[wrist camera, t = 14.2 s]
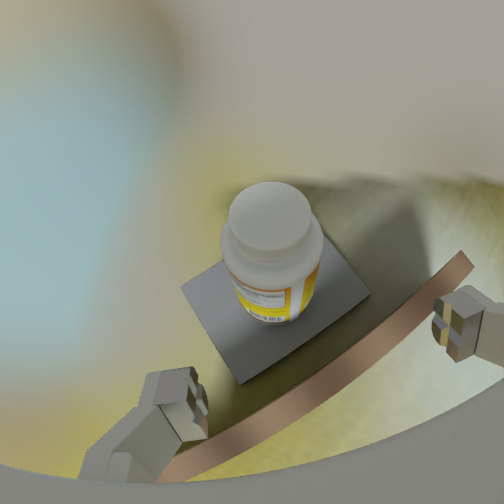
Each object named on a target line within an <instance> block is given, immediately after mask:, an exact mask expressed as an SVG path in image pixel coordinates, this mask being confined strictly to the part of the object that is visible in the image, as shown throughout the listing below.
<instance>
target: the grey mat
mask: <svg viewBox="0 0 504 504" xmlns="http://www.w3.org/2000/svg"><path fill="white" fill-rule="evenodd" d="M323 242H324V243H323V252H322V256H321V261H320V265H319V270H318V274H317V278H316V283H315V287H314V291H313V295H312V299H311V301H310V303H309V305H308V307H307V309H306V310H305V311H304V312H303V313H302V314H301V315H300V316H299V317H298V318H296V319H295V320H293V321H290V322H288V323H284V324H279V325H271V324H265V323H262V322H260V321H257V320H256V319H254V318H253V317H251V316H250V315H249V314H248V313H247V312H246V311H245V310H244V308H243V306H242V305H241V303H240V301H239V298H238V295H237V293H236V290H235V288H234V285H233V283H232V280H231V277H230V275H229V272H228V270H227V267H226V265H225V262H224V260H222V261H221V262H219V263H217V264H216V265H214V266H212V267H211V268H209V269H208V270H206V271H205V272H203V273H201V274H200V275H198V276H197V277H195V278H193V279H192V280H190V281H189V282H187V283H185V284H184V285H182V286H181V287H180V288H181V290H182V291H183V293H184V295H185V297H186V298H187V300H188V301H189V303H190V305H191V307H192V309H193V310H194V312H195V314H196V316H197V317H198V319H199V321H200V322H201V324H202V326H203V327H204V329H205V330H206V332H207V334H208V336H209V337H210V339H211V341H212V342H213V344H214V345H215V347H216V349H217V350H218V352H219V353H220V355H221V357H222V358H223V360H224V361H225V363H226V365H227V366H228V368H229V369H230V371H231V372H232V374H233V375H234V377H235V378H236V380H237V382H238V383H239V385H242V384H244V383H245V382H247V381H249V380H250V379H252V378H253V377H255V376H257V375H258V374H260V373H261V372H263V371H265V370H266V369H268V368H269V367H271V366H272V365H274V364H275V363H277V362H278V361H280V360H281V359H283V358H284V357H286V356H287V355H289V354H290V353H292V352H293V351H295V350H296V349H298V348H299V347H301V346H302V345H303V344H305V343H306V342H308V341H309V340H311V339H312V338H313V337H315V336H316V335H318V334H319V333H321V332H322V331H323V330H325V329H326V328H327V327H329V326H330V325H332V324H333V323H334V322H336V321H337V320H338V319H340V318H341V317H342V316H344V315H345V314H346V313H348V312H349V311H350V310H352V309H353V308H354V307H355V306H357V305H358V304H359V303H361V302H362V301H363V300H365V299H366V298H367V297H368V296H369V295H370V294H371V292H370V290H369V289H368V288H367V286H366V285H365V284H364V283H363V281H362V280H361V279H360V278H359V276H358V275H357V274H356V273H355V271H354V270H353V269H352V268H351V267H350V265H349V264H348V263H347V262H346V260H345V259H344V258H343V257H342V256H341V254H340V253H339V252H338V251H337V250H336V248H335V247H334V246H333V245H332V244H331V242H330V241H329V240H328V239H327V238H326V236H325V235H324V234H323Z"/></svg>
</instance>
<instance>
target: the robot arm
mask: <svg viewBox="0 0 504 504" xmlns="http://www.w3.org/2000/svg"><path fill="white" fill-rule="evenodd" d="M433 310H434V312H435V313H436V314H435V316H434V318H433V320H432V332H433V336H434V338H435V340H436V341H437V342H438V344H439V345H442V346H445V347H446V352H447V354H448V355H449V356H450V357H451V358H452V359H453V360H454V361H455V362H456V363H457V362H460V361H462V360H464V359H466V358H468V357H470V356H472V355H474V354H475V356H478V357H480V358H482V359H485V360H487V361H489V362H492V363H494V364H497V365H499V366H501V367H504V303H500V302H499V303H497V304H496V303H495V302H493V301H492V300H491V299H489V298H488V297H487V296H485V295H484V294H482V293H481V292H480V291H478V290H477V289H475V288H474V287H473V286H471V285H466V286H464V287H462V288H459V289H457V290H456V291H453V292H451V293H449V294H446V295H444V296H441V297H439V298H436V299H435V300H434V303H433ZM207 413H208V400H207V395H206V392H205V390H204V387H203V385H201V384H199V383H198V374H197V372H196V371H195V368H193V367H185V368H178V369H171V370H163V371H157V372H151V373H148V374H147V376H146V379H145V382H144V386H143V389H142V393H141V396H140V400H139V404H138V407H135V408H133V409H132V410H131V411H130V412H129V413H127V414H126V415H125V416H124V417H123V418H122V419H121V420H120V421H119V422H118V423H116V424H115V425H114V426H113V427H112V428H111V429H110V430H109V431H108V432H107V433H106V434H104V435H103V436H102V437H101V438H100V439H99V440H98V441H97V442H96V443H95V444H93V445H92V446H91V447H90V448H89V449H88V450H87V452H86V455H85V458H84V461H83V464H82V467H81V470H80V473H79V476H78V479H73V478H66V477H59V476H53V475H47V474H41V473H36V472H30V471H26V470H22V469H17V468H13V467H10V466H6V465H3V464H0V504H504V378H503V379H501V380H500V381H498V382H497V383H495V384H494V385H492V386H490V387H489V388H487V389H485V390H484V391H482V392H481V393H479V394H477V395H475V396H474V397H472V398H470V399H468V400H467V401H465V402H463V403H461V404H459V405H458V406H456V407H454V408H452V409H450V410H448V411H446V412H444V413H442V414H440V415H438V416H436V417H434V418H432V419H430V420H428V421H426V422H423V423H421V424H419V425H417V426H415V427H412V428H410V429H408V430H405V431H403V432H401V433H398V434H396V435H393V436H391V437H388V438H386V439H383V440H380V441H378V442H375V443H372V444H369V445H366V446H364V447H361V448H358V449H355V450H352V451H349V452H345V453H342V454H339V455H336V456H332V457H329V458H325V459H322V460H318V461H314V462H310V463H306V464H302V465H298V466H294V467H289V468H285V469H280V470H275V471H270V472H264V473H259V474H253V475H246V476H240V477H233V478H225V479H216V480H206V481H193V482H176V483H157V482H156V480H157V479H158V477H159V476H160V475H161V473H162V472H163V470H164V469H165V468H166V466H167V465H168V463H169V462H170V460H171V459H172V458H173V456H174V455H175V453H176V452H177V450H178V449H179V447H180V446H181V445H182V442H186V441H194V440H201V439H207V438H208V422H207V420H206V418H205V416H206V415H207Z"/></svg>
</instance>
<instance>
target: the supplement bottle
mask: <svg viewBox="0 0 504 504" xmlns="http://www.w3.org/2000/svg"><path fill="white" fill-rule="evenodd" d="M323 243H324V242H323V233H322V229H321V226H320V224H319V222H318V220H317V219H316V217H315V216H314V214H313V213H312V211H311V207H310V204H309V202H308V200H307V199H306V197H305V196H304V195H303V194H302V193H301V192H300V191H299V190H297V189H296V188H294V187H293V186H291V185H288V184H285V183H281V182H275V181H268V182H261V183H257V184H254V185H251V186H249V187H247V188H246V189H244V190H243V191H241V192H240V193H239V194H238V195H237V196H236V197H235V199H234V200H233V202H232V204H231V206H230V209H229V219H228V220H227V222H226V224H225V226H224V228H223V231H222V235H221V252H222V256H223V260H224V262H225V265H226V267H227V270H228V272H229V275H230V277H231V280H232V283H233V285H234V288H235V290H236V293H237V295H238V298H239V301H240V303H241V305H242V306H243V308H244V310H245V311H246V312H247V313H248V314H249V315H250V316H251V317H253V318H254V319H256V320H257V321H260V322H262V323H265V324H271V325H279V324H284V323H288V322H290V321H293V320H295V319H296V318H298V317H299V316H300V315H301V314H302V313H303V312H304V311H305V310H306V309H307V307H308V305H309V303H310V301H311V299H312V295H313V291H314V287H315V283H316V278H317V274H318V270H319V265H320V261H321V256H322V252H323Z"/></svg>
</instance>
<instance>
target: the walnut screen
mask: <svg viewBox="0 0 504 504" xmlns="http://www.w3.org/2000/svg"><path fill="white" fill-rule="evenodd" d="M473 268H474V265H473V264H472V263H471V262H470V260H469V259H468V258H467V256H466V255H465V254H464V253H463V251H462V250H460V251H459V252H458V253H457V254H456V255H455V256H454V257H453V258H452V259H451V260H450V261H449V262H448V263H447V264H446V265H445V266H444V267H442V268H441V269H440V270H439V271H438V272H437V273H436V274H435V275H434V276H433V277H431V278H430V279H429V280H428V281H427V282H426V283H425V284H424V285H422V286H421V287H420V288H419V289H418V290H417V291H416V292H415V293H414V294H413V295H412V296H410V297H409V298H408V299H407V300H406V301H405V302H404V303H403V304H401V305H400V306H399V307H398V308H397V309H396V310H394V311H393V312H392V313H391V314H390V315H389V316H387V317H386V318H385V319H384V320H383V321H381V322H380V323H379V324H378V325H377V326H375V327H374V328H373V329H372V330H370V331H369V332H368V333H367V334H366V335H364V336H363V337H362V338H360V339H359V340H358V341H357V342H355V343H354V344H353V345H351V346H350V347H349V348H348V349H346V350H345V351H344V352H342V353H341V354H340V355H338V356H337V357H336V358H334V359H333V360H331V361H330V362H329V363H327V364H326V365H325V366H323V367H322V368H320V369H319V370H318V371H316V372H315V373H313V374H312V375H310V376H309V377H308V378H306V379H305V380H303V381H302V382H300V383H299V384H297V385H296V386H294V387H293V388H291V389H290V390H288V391H287V392H285V393H284V394H282V395H281V396H279V397H277V398H276V399H274V400H273V401H271V402H270V403H268V404H266V405H265V406H263V407H261V408H260V409H258V410H256V411H255V412H253V413H252V414H250V415H248V416H246V417H245V418H243V419H241V420H240V421H238V422H236V423H234V424H233V425H231V426H229V427H227V428H225V429H224V430H222V431H220V432H218V433H216V434H215V435H213V436H211V437H209V438H207V439H205V440H203V441H201V442H199V443H197V444H195V445H193V446H191V447H189V448H187V449H185V450H183V451H181V452H179V453H177V454H175V455H174V456H173V458H172V459H171V460H170V462H169V463H168V465H167V466H166V468H165V469H164V470H163V472H162V473H161V475H160V476H159V477H158V479H157V480H156V482H157V483H176V482H183V481H185V480H188V479H190V478H192V477H194V476H197V475H199V474H201V473H203V472H205V471H207V470H209V469H211V468H213V467H215V466H217V465H219V464H221V463H223V462H225V461H227V460H229V459H231V458H233V457H235V456H237V455H239V454H241V453H242V452H244V451H246V450H248V449H250V448H252V447H253V446H255V445H257V444H259V443H260V442H262V441H264V440H266V439H267V438H269V437H271V436H272V435H274V434H276V433H277V432H279V431H281V430H282V429H284V428H285V427H287V426H289V425H290V424H292V423H293V422H295V421H296V420H298V419H300V418H301V417H303V416H304V415H306V414H307V413H309V412H310V411H312V410H313V409H315V408H316V407H317V406H319V405H320V404H322V403H323V402H325V401H326V400H328V399H329V398H330V397H332V396H333V395H335V394H336V393H337V392H339V391H340V390H341V389H343V388H344V387H345V386H347V385H348V384H349V383H351V382H352V381H353V380H355V379H356V378H357V377H358V376H360V375H361V374H362V373H364V372H365V371H366V370H367V369H369V368H370V367H371V366H372V365H374V364H375V363H376V362H377V361H378V360H380V359H381V358H382V357H383V356H384V355H386V354H387V353H388V352H389V351H390V350H391V349H393V348H394V347H395V346H396V345H397V344H398V343H400V342H401V341H402V340H403V339H404V338H405V337H406V336H407V335H408V334H410V333H411V332H412V331H413V330H414V329H415V328H416V327H417V326H418V325H419V324H420V323H421V322H422V321H424V320H425V319H426V318H427V317H428V316H429V315H430V314H431V313H432V312H433V311H434V310H433V303H434V300H435V299H436V298H439V297H441V296H444V295H446V294H449V293H451V292H452V291H453V290H454V289H455V288H456V287H457V286H458V285H459V284H460V283H461V282H462V281H463V280H464V279H465V277H466V276H467V275H468V274H469V273H470V272H471V271H472V270H473Z"/></svg>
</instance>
